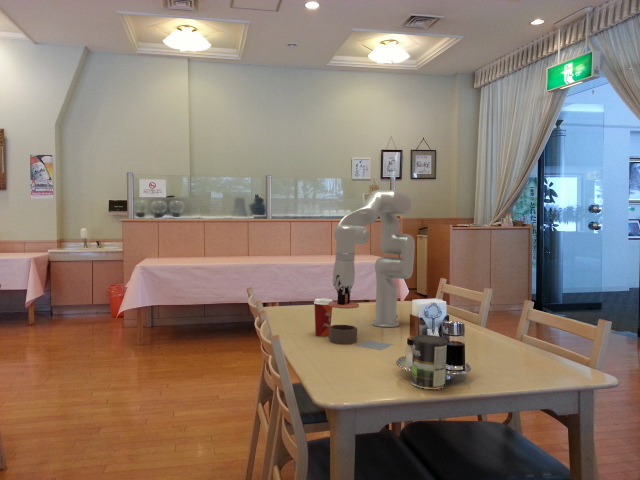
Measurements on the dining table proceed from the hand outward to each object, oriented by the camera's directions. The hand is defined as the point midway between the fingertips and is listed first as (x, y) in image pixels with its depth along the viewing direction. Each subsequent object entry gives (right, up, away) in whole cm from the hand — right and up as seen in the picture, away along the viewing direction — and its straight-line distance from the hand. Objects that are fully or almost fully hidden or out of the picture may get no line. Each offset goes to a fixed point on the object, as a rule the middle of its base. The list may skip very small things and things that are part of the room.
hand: (343, 303), depth 214 cm
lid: (0, -1, 0) cm, 1 cm away
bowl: (0, -16, +1) cm, 16 cm away
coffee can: (+24, -19, -49) cm, 58 cm away
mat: (+12, -16, -4) cm, 21 cm away
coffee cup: (-8, -15, +13) cm, 21 cm away
